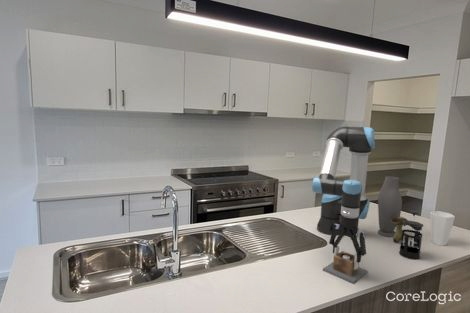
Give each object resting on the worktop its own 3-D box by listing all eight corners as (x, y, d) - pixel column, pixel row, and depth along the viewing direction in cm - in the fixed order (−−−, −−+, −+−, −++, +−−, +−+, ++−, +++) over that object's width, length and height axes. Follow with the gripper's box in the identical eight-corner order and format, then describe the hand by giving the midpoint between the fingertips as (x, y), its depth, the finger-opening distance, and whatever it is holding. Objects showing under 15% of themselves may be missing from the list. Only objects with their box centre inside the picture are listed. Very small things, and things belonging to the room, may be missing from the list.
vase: (393, 239, 167) (399, 180, 163) (370, 233, 177) (376, 176, 173) (401, 234, 176) (408, 178, 172) (379, 228, 186) (385, 174, 182)
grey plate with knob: (322, 270, 131) (323, 255, 130) (338, 260, 140) (339, 247, 139) (353, 283, 121) (354, 267, 120) (367, 272, 130) (368, 257, 129)
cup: (452, 243, 165) (456, 214, 162) (449, 249, 157) (453, 218, 155) (429, 237, 172) (432, 209, 170) (425, 242, 165) (428, 213, 163)
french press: (413, 261, 142) (418, 216, 139) (394, 253, 150) (398, 210, 147) (425, 256, 148) (430, 212, 145) (407, 249, 156) (411, 207, 153)
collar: (333, 268, 130) (333, 256, 130) (341, 263, 136) (342, 251, 135) (350, 276, 125) (351, 263, 124) (358, 269, 130) (359, 257, 129)
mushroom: (405, 247, 158) (408, 220, 156) (387, 243, 162) (390, 217, 160) (406, 241, 166) (408, 216, 164) (389, 237, 170) (391, 213, 168)
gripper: (323, 211, 132) (319, 258, 135) (371, 224, 117) (366, 277, 120) (331, 208, 137) (328, 253, 140) (378, 220, 122) (373, 271, 125)
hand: (345, 264), depth 130 cm, fingers open, 9 cm apart
